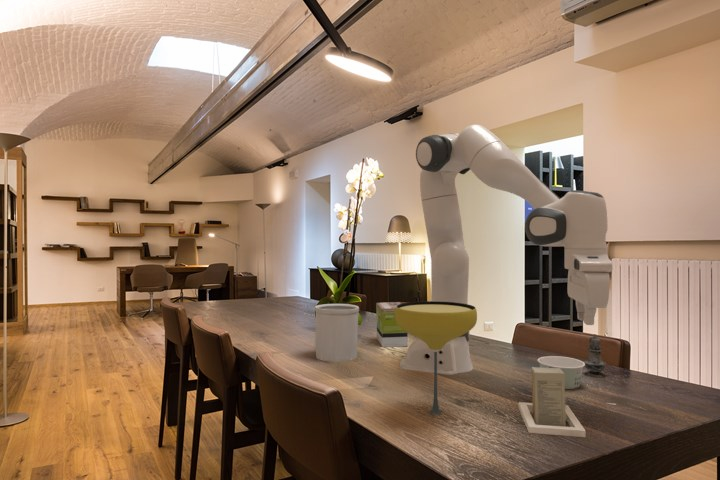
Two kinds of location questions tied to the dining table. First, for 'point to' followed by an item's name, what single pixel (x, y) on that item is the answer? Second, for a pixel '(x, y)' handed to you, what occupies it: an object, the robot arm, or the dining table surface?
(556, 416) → the skincare box
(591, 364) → the grey tiered upright piece
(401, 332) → the tea box
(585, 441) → the dining table surface
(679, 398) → the dining table surface
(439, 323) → the cocktail glass
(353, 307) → the utensil holder
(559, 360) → the food container
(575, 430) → the beige flat frame
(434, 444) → the dining table surface
